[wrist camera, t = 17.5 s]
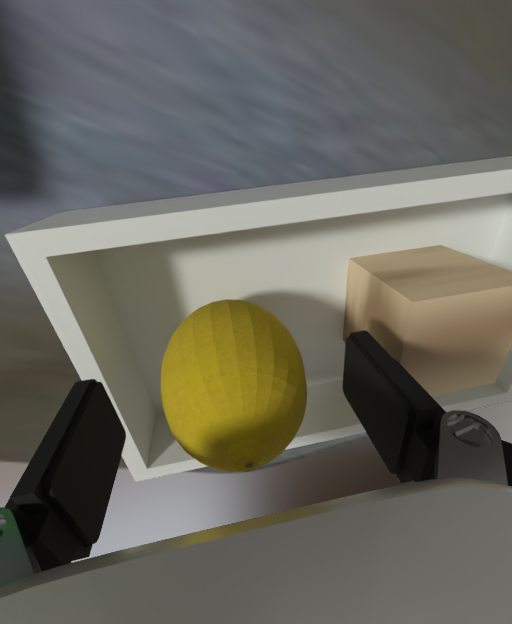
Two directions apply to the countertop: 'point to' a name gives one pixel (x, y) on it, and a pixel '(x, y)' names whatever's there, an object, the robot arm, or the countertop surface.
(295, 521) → the robot arm
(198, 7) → the countertop surface
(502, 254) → the tray
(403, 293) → the cube
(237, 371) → the lemon
